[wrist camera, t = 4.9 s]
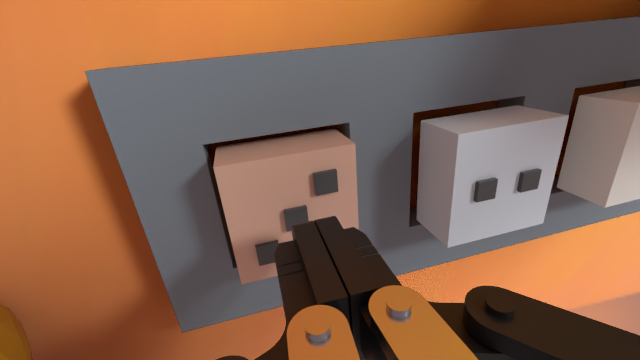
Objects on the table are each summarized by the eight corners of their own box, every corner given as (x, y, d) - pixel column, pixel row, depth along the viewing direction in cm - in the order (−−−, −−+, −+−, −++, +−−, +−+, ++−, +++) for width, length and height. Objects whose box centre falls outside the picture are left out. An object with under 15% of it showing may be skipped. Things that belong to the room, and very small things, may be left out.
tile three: (334, 128, 14) (357, 145, 12) (341, 225, 16) (361, 258, 14) (216, 146, 13) (212, 169, 11) (240, 248, 15) (241, 287, 13)
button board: (686, 11, 18) (726, 8, 16) (621, 198, 22) (647, 208, 21) (102, 68, 12) (84, 71, 10) (186, 307, 16) (182, 332, 15)
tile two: (517, 105, 15) (573, 116, 13) (500, 199, 17) (546, 225, 15) (421, 120, 14) (462, 135, 12) (416, 219, 16) (450, 250, 14)
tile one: (655, 83, 17) (729, 89, 14) (625, 171, 19) (684, 189, 17) (579, 95, 16) (644, 103, 13) (556, 187, 18) (609, 209, 15)
